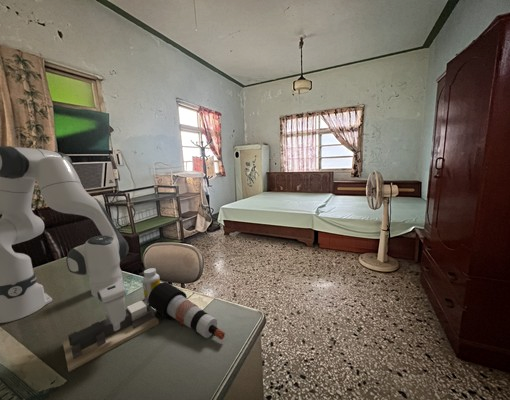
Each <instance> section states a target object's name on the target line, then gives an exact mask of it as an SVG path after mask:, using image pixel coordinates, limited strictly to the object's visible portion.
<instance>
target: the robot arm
mask: <svg viewBox="0 0 510 400" xmlns="http://www.w3.org/2000/svg"><path fill="white" fill-rule="evenodd" d="M36 182H37V186H38V189H39V191H40V194H41V197H42V199H43V202H44V203H45V204H46V206H48V208H50V209H51V210H54V211H56V212H58V213H62V214H66V215H67V214H68V215H77V216H83V217H86V218H89V219H90V220H91V221H93V223H94V224H95V226H96V228H97V229H98V231H99V233H100V234H101V235H97V236H93V237H90V238H89V239H87V240H86V241H85V243H84V244H81V245H78V246H76V247H73V248H71V249H70V250H69V252H68V254H67V256H66V258H65V261H66V266H67V269H68V271H69V272H70V273H72V274H75V275H81V276H86V275H88V276H89V287H90V293H91V296H92V297H95V298H96V299H98V302H99V304H100V306H101V308H102V309H103V311H104V313H105V317H106V319H107V318H109V320H110V322H111V324H112V326H113V330H114V331H117V330H119V329H120V322H122V321H124V320H125V317H126V311H125V310H126V298H125V295H126V294H127V291H126V287H125V285H124V278H123V272H122V269H121V267H120V266H121V265H120V263H121V262H122V261H124V260H125V258H127V255H128V253H129V250H130V247H129V244H128V242H127V240H126V239H125V237H123V235H122V234H121V233H120V231H119V230H118V228H117V227H116V225H115V223H114V222H113V220H112V218H111V217H110V215H109V213H108V212H107V210H106V208H105V207H104V205H103V204H102V203H101V201H100V199H97V198H95V197H93V196H91V194H89V192H88V191H86V189H85V188H84V186H83V185H82V182H81V180H80V177H79V175H78V172H76V169H75V168H74V164H73V161H72V158H71V157H70V156H69V155H68V154H67V153H66V154H65V153H63V152H60V151H57V150H55V151H53V150H48V149H44V148H43V149H42V148H35V147H32V148H31V147H19V146H18V147H16V146H14V147H13V146H11V145H5V146H4V145H3V146H0V214H1V216H0V324H4V323H9V322H13V321H16V320H19V319H22V318H24V317H27V316H30V315H32V314H34V313H35V312H37V311H39V310H41V309H42V308H44V306H45V305H48V304H50V303H51V302H53V298H52V297H51V296H50V295H48V294H47V293H46V291H45V290H44V286H43V285H42V284H41V283H38V278H37V274H36V273H35V272H34V268H33V263H32V258H31V257H30V256H29V255H28V254H25V253H23V252H22V253H21V252H16V251H14V249H13V248H12V246H13V245H16V244H20V243H23V242H27V241H30V240H32V239H34V238H36V237H39V236H40V235H42V234H43V233H44V231H45V222H44V221H43V219H42V218H41V217H39V216H38V215H36V214H35V213H34V212H33V209H32V203H33V197H34V196H33V195H34V190H35V186H36Z"/></svg>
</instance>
